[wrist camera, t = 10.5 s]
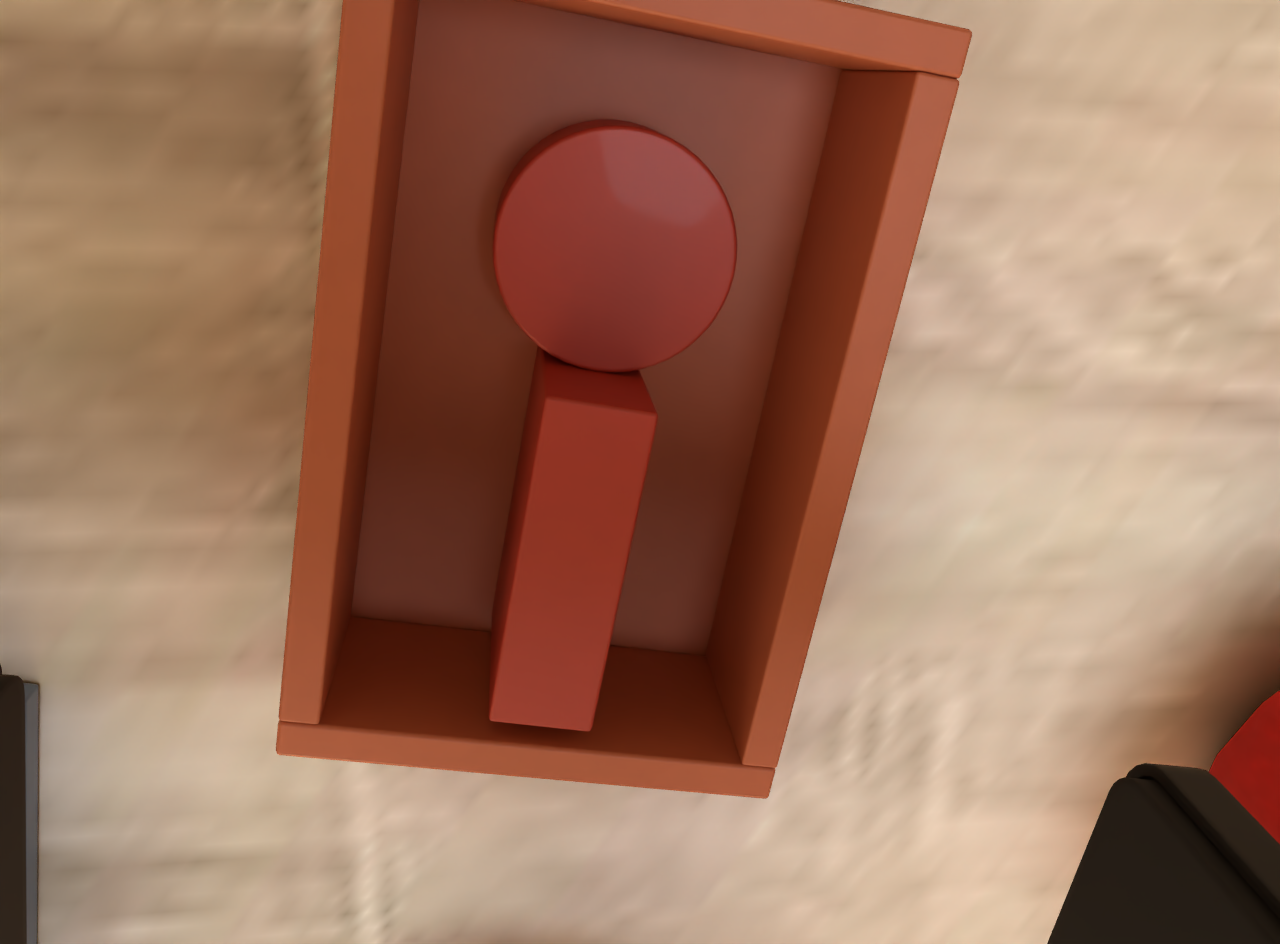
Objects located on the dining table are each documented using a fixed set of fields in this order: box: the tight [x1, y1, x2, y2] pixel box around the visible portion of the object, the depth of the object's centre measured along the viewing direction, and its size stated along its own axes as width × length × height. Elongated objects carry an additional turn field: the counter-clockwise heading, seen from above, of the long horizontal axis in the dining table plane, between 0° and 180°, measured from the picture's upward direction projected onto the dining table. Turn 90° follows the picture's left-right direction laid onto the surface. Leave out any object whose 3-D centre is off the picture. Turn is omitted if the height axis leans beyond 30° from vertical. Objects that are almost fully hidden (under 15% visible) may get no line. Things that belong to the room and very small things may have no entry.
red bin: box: [276, 0, 972, 798], centre depth 17 cm, size 12×8×4 cm, turn 169°
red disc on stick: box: [488, 119, 737, 731], centre depth 17 cm, size 9×4×4 cm, turn 169°
